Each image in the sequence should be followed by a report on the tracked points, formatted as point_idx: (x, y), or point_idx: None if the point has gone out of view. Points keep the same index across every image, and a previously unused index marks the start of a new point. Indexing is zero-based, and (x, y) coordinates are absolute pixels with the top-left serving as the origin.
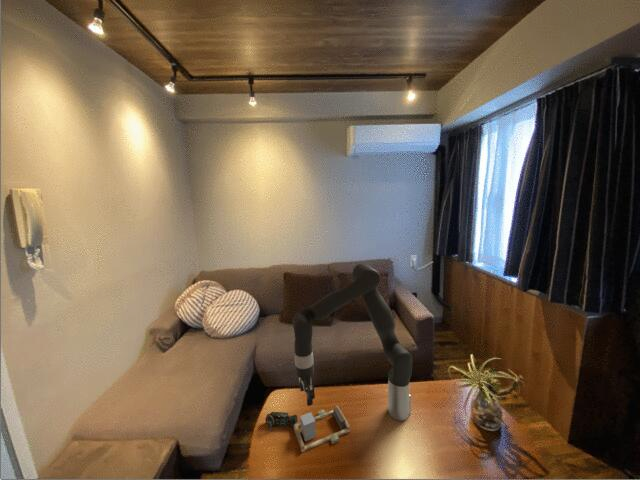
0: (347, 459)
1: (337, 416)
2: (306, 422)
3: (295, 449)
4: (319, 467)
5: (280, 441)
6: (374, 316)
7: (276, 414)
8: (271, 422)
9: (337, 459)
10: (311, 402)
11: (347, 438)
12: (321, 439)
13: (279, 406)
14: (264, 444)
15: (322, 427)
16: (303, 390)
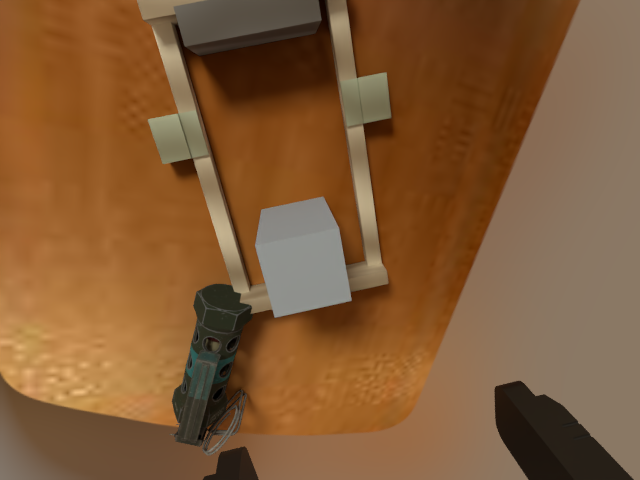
0: (486, 56)
1: (260, 33)
2: (333, 284)
3: (358, 296)
4: (469, 204)
5: (304, 354)
6: None
7: (202, 417)
8: (221, 412)
9: (467, 110)
10: (582, 436)
11: (378, 11)
12: (357, 174)
13: (94, 365)
14: (302, 409)
15: (272, 150)
16: (252, 466)
